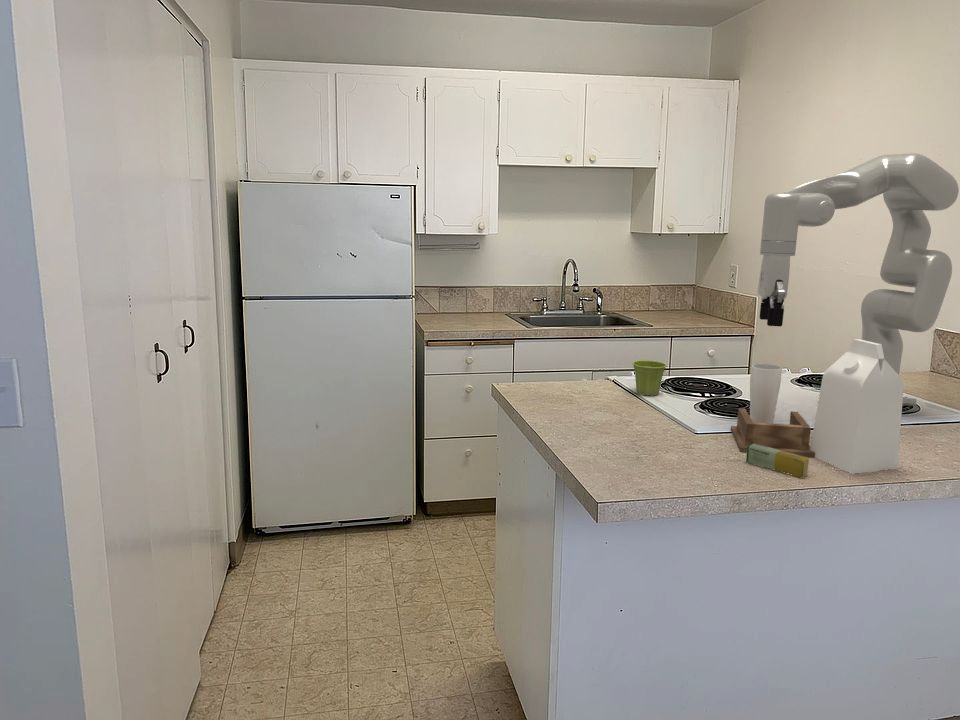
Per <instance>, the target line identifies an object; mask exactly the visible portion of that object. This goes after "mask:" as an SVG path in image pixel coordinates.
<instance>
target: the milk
mask: <svg viewBox="0 0 960 720" xmlns="http://www.w3.org/2000/svg"><path fill="white" fill-rule="evenodd" d="M904 387H905V386H904V382H903V379H902V377H901V376H900V374H899V375H898V374H897V373H896V372H895V370H894V369H893V368H892V367H891V366H890V365H889V364H888V363H887V361H886V360H885V359H884V354H883V349H882V345H881V344H878V343H873V342H869V341H865V340H862V338H861V339H859V338H854V339H852V341H851V343H850V345H849V348H848V349H847V351H846V352H845V353H843V354H842V356H840V357H839V358H837V360H836V361H835V362H833V363H832V364H831V365H830V366H829V367H828V368H827V369H826V370H825V372H824V373H823V375H822V377H821V383H820V389H819V391H820V392H819V396H818V400H817V408H816V412H815V413H816V414H815V417H814V418H815V419H814V425H813V430H812V431H813V432H812V436H811V441H810V450H811V451H813V452H815V457H816V459H817V458H818V459H817V460H820V461H822V462H824V461H825V463H826V462H827V463H826V464H828V463H829V465H830V464H831V466H833V465H834V466H833V467H835V466H837V467H839V468H841V469H843V470H845V471H844V472H846V471H847V472H846V473H848V472H849V473H848V474H850V473H851V474H850V475H856V474H855V473H859V474H862V473H861V472H868V473H870V472H869V471H876V472H879V471H878V470H885V471H889V470H888V469H893V470H896V469H895V468H899V456H900V455H899V454H900V453H899V452H900V442H901V440H900V439H901V429H902V428H901V427H902V413H903V412H902V411H903V406H902V402H903V397H904ZM815 457H814V458H815ZM837 467H836V468H837ZM839 468H838V469H839ZM841 469H840V470H841ZM843 470H842V471H843Z"/></svg>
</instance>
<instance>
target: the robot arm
mask: <svg viewBox="0 0 960 720" xmlns="http://www.w3.org/2000/svg"><path fill="white" fill-rule="evenodd" d="M959 190H960V189H959V184H958V181H957V180H956V179H955V177H954V176H953V175H952V174H951V173H950V172H949V171H947V170H946V169H945V168H943V167H942V166H941V165H939V164H938V163H937V162H935V161H934V160H932V159H931V158H929V157H927V156H925V155H923V154H922V153H921V154H920V153H915V152H913V153H898V154H897V153H895V154H885V155H880V156H877V157H873V158H871V159H870V160H868V161H865V162H863V163H861V164H859V165H856V166H855V167H853V168H850V169H847V170H845V171H843V172H841V173H836V174H833V175H828V176H826V177H823V178H821V179H820V178H819V179H816V180H812V181H809V182H805V183H803V184H800V185H797V186H795V187H793V188H789V189H788V190H785V191H783V192H779V193H778V192H777V193H776V192H775V193H774V192H773V193H770V194H768V195H767V196H766V197H765V201H764V209H763V219H762V228H761V239H760V248H759V249H760V250H759V255H761V256H762V261H761V266H760V272H759V281H758V287H757V294H758V296H759V297H761V302H760V308H759V309H760V310H759V319H760V320H762V321H763V320H764V321H765V320H766V325H767V326H768V327H782V326H783V323H784V322H783V321H784V314H785V313H784V312H785V299H786V298H787V295H788V289H789V280H790V279H789V278H790V267H791V257H795V256H796V250H797V243H798V242H797V240H798V233H799V231H798V230H799V227H806V228H807V227H810V228H811V227H820V226H823V225H826V224H827V223H829V221H831V220H832V218H833V217H834V214H835V211H836V210H842V209H847V208H851V207H856V206H859V205H861V204H864V203H866V202H867V201H870V200H871V199H873V198H877V196H880V195H881V194H882V197H883V201H884V203H885V205H886V208H887V209H888V211H889V214H890V216H891V220H892V229H891V230H892V231H891V234H890V238H889V242H888V244H887V246H886V247H887V248H886V250H885V254H884V257H883V260H882V263H881V267H880V272H879V273H880V274H879V275H880V278H881V280H882V281H883V282H884V283H886V284H889V285H894V286H899V287H907V288H913V289H914V292H911V291H904V290H899V289H898V290H897V289H890V288H889V289H888V288H886V289H885V288H884V289H883V288H881V289H873V290H872V291H870V292H868V293H867V294H866V295H865V296H864V298H863V300H862V302H861V306H860V307H861V308H860V315H861V324H862V328H861V329H862V331H861V340H865V341H869V342H873V343H878V344H881V345H882V349H883V354H884V359H885V360H886V361H887V363H888V364H889V365H890V366H891V367H892V368H893V369H894V370H895V372H896V373H897V374H898V375H899V376H900V371H901V362H902V356H903V350H904V343H903V342H904V341H903V339H902V335H901V333H900V331H901V330H902V331H907V332H911V333H924V332H927V331H929V330H931V328H932V327H933V326H934V325H935V323H936V322H937V319H938V316H939V314H940V312H941V308H942V305H943V303H944V301H945V300H944V299H945V298H946V294H947V291H948V287H949V285H950V282H951V278H952V274H953V264H952V260H951V257H950V256H949V255H948V254H947V253H945V252H943V251H941V250H936V249H927V248H928V245H929V242H930V238H931V234H932V229H931V228H932V227H931V224H930V221H929V218H928V217H927V216H926V214H925V212H924V211H933V212H935V211H937V212H938V211H943V210H944V211H945V210H947V209H949V208H951V206H953V205H954V204H955V203H956V201H957V198H958V197H959ZM899 330H900V331H899ZM904 406H908V407H910V406H911V407H916V406H917V399H916V398H911V397H907V396H903V402H902V407H904Z"/></svg>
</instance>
